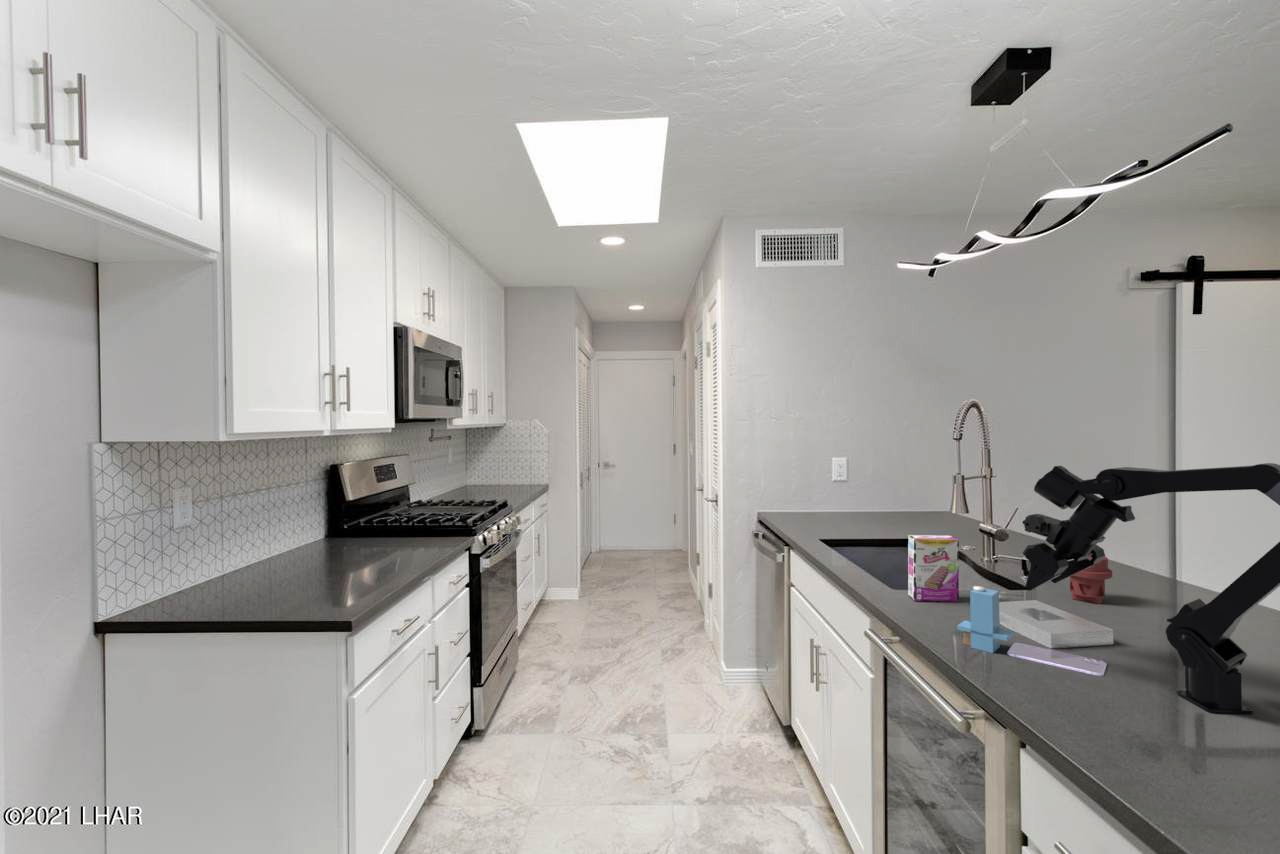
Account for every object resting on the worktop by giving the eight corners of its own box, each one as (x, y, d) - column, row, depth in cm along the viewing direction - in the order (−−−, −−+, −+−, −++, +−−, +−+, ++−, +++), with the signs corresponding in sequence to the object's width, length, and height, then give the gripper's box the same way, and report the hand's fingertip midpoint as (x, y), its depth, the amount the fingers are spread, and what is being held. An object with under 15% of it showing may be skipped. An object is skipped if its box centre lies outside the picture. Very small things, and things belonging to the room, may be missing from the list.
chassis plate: (1113, 644, 117) (1113, 629, 117) (1051, 648, 116) (1050, 633, 116) (1035, 612, 137) (1035, 600, 137) (981, 615, 135) (981, 603, 135)
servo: (1013, 650, 115) (1013, 590, 115) (1007, 656, 112) (1006, 595, 112) (965, 638, 122) (964, 582, 122) (957, 644, 119) (956, 586, 119)
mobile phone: (1014, 640, 119) (1107, 660, 108) (1014, 645, 119) (1107, 665, 108) (1005, 651, 113) (1103, 673, 103) (1005, 656, 113) (1103, 679, 103)
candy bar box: (914, 602, 146) (913, 538, 146) (907, 596, 151) (906, 534, 151) (960, 602, 145) (959, 538, 145) (951, 596, 150) (951, 534, 150)
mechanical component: (1121, 607, 139) (1072, 604, 142) (1101, 595, 149) (1056, 592, 152) (1120, 557, 139) (1072, 555, 142) (1100, 548, 149) (1055, 546, 152)
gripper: (1070, 495, 118) (1028, 551, 125) (1021, 502, 109) (978, 563, 116) (1127, 530, 110) (1078, 588, 117) (1078, 541, 100) (1029, 604, 108)
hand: (1040, 584), depth 115 cm, fingers open, 9 cm apart
